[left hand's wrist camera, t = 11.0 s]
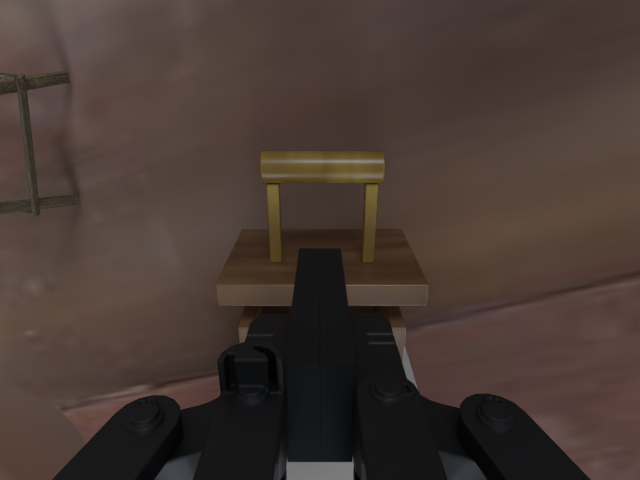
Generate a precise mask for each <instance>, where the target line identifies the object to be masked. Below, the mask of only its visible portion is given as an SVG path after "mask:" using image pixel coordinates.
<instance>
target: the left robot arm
mask: <svg viewBox="0 0 640 480" xmlns="http://www.w3.org/2000/svg"><path fill="white" fill-rule="evenodd" d="M217 361H218V371H219V380H220V390H221V394H220V397H218V398H217V399H215V400H213V401H211V402H208V403H205V404H202V405H199V406H195V407H191V408H187V409H182V410H180V406H179V405H178V403H177V402H176V401H175V400H174V399H172V398H169V397H167V396H155V395H152V396H148V397H144V398H139V399H137V400H135V401H133V402H131V403H129V404H127V405H125V406H124V407H123V408H122V409H120V410H119V411H118V412H117V413H115V414H114V416H113V417H112V418H111V419H110V420H109V421H108V422H107V423H106V424H105V425H104V426H103V427H102V428H101V429H100V430H99V431H98V432H97V433H96V434H95V435H94V436H93V437H92V438H91V440H90V441H89V442H88V443H87V444H86V445H85V446H84V447H83V448H82V449H81V450H80V451H79V452H78V453H77V454H76V455H75V456H74V457H73V458H72V459H71V460H70V462H69V463H68V464H67V465H66V466H65V467H64V468H63V469H62V470H61V471H60V472H59V473H58V474H57V475H56V476H55V477H54V478H53V479H52V480H287V470H286V466H287V460H288V462H352V460H353V464H354V470H353V480H590V479H589V478H588V477H587V476H586V475H585V474H584V473H583V471H582V470H581V469H580V468H579V467H578V466H577V465H576V464H575V463H574V462H573V461H572V460H571V459H570V458H569V457H568V456H567V455H566V454H565V453H564V452H563V451H562V450H561V449H560V448H559V447H558V446H557V444H556V443H555V442H554V441H553V440H552V439H551V438H550V437H549V436H548V435H547V434H546V433H545V432H544V431H543V430H542V429H541V428H540V427H539V426H538V425H537V424H536V423H535V422H534V421H533V420H532V419H531V417H530V416H529V415H528V414H527V413H526V412H525V411H524V410H522V409H521V408H520V407H518V406H517V405H516V404H515V403H513V402H511V401H509V400H507V399H505V398H503V397H500V396H495V395H491V394H474V395H472V396H469V397H467V398H465V400H464V401H463V402H462V403H461V404H460V408H456V407H452V406H448V405H444V404H440V403H437V402H434V401H431V400H429V399H427V398H425V397H423V396H421V395H420V393H419V391H418V389H417V388H416V386H415V385H414V384H413V383H412V382H411V381H410V380H408V379H407V377H406V374H405V370H404V367H403V364H402V360H401V357H400V354H399V351H398V347H397V344H396V341H395V337H394V335H393V331H392V327H391V324H390V322H389V321H388V320H387V319H386V318H385V317H384V316H383V315H382V314H381V313H349V306H348V299H347V291H346V284H345V276H344V268H343V261H342V253H341V248H299V253H298V261H297V268H296V276H295V284H294V291H293V299H292V306H291V314H259V315H258V316H257V317H256V318H255V319H254V320H253V321H252V322H251V323H250V326H249V329H248V332H247V337H246V339H245V342H243V343H240V344H237V345H234V346H231V347H230V348H228V349H227V350H225V351H224V352H223V353H222V354H221V355H220V357H219V358H218V360H217Z"/></svg>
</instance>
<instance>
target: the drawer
mask: <svg viewBox="0 0 640 480" xmlns="http://www.w3.org/2000/svg"><path fill="white" fill-rule="evenodd" d="M384 174H385V156H384V152H383V151H262V152H261V155H260V176H261V181H262V183H267V185H266V186H267V205H268V224H269V229H242V231H241V233H240V235H239V237H238V239H237V241H236V243H235V245H234V247H233V250H232V252H231V254H230V256H229V258H228V260H227V262H226V264H225V266H224V269H223V271H222V273H221V275H220V277H219V279H218V281H217V283H216V295H217V304H218V306H245V307H244V311H243V314H242V317H241V320H240V323H239V327H238V335H239V344H240V343H243V342H245V339H246V337H247V332H248V329H249V326H250V323H251V322H252V321H253V320H254V319H255V318H256V317H257V316H258V315H259V314H291V306H292V299H293V291H294V284H295V276H296V268H297V261H298V253H299V248H341V253H342V261H343V268H344V276H345V284H346V291H347V299H348V306H349V313H381V314H382V315H383V316H384V317H385V318H386V319H387V320H388V321H389V322H390V324H391V327H392V331H393V335H394V337H395V341H396V344H397V347H398V351H399V354H400V357H401V360H402V364H403V357H404V347H405V337H406V326H405V323H404V320H403V317H402V314H401V311H400V308H399V306H426V305H427V299H428V291H429V284H428V282H427V280H426V278H425V276H424V274H423V272H422V270H421V268H420V266H419V264H418V262H417V260H416V258H415V256H414V254H413V252H412V250H411V248H410V246H409V244H408V242H407V240H406V238H405V236H404V234H403V232H402V230H401V229H376V214H377V197H378V184H377V183H382V182H383V180H384ZM280 183H365V189H364V211H363V229H282V228H281V203H280Z"/></svg>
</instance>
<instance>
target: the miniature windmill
mask: <svg viewBox="0 0 640 480" xmlns="http://www.w3.org/2000/svg"><path fill="white" fill-rule="evenodd" d="M0 79H6V81H0V95H2V94H8V93H13V92H18V99H19V108H20V116H21V125H22V134H23V142H24V151H25V159H26V168H27V177H28V185H29V194H30V199H26V200H17V201H7V202H0V214H3V213H11V212H27V213H32V216H34V217H35V216H37V215H39V214H40V209H44V208H52V207H60V206H68V205H76V204H78V196H77V195H65V196H56V197H46V198H38V189H37V180H36V170H35V161H34V152H33V143H32V134H31V124H30V115H29V106H28V97H27V90H30V89H36V88H41V87H47V86H52V85H58V84H63V83H69V82H70V79H69V74H68V72H56V73H50V74H43V75H37V76H31V77H25V74H21V75H19V76H18V75H11V74H4V73H0Z"/></svg>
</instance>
